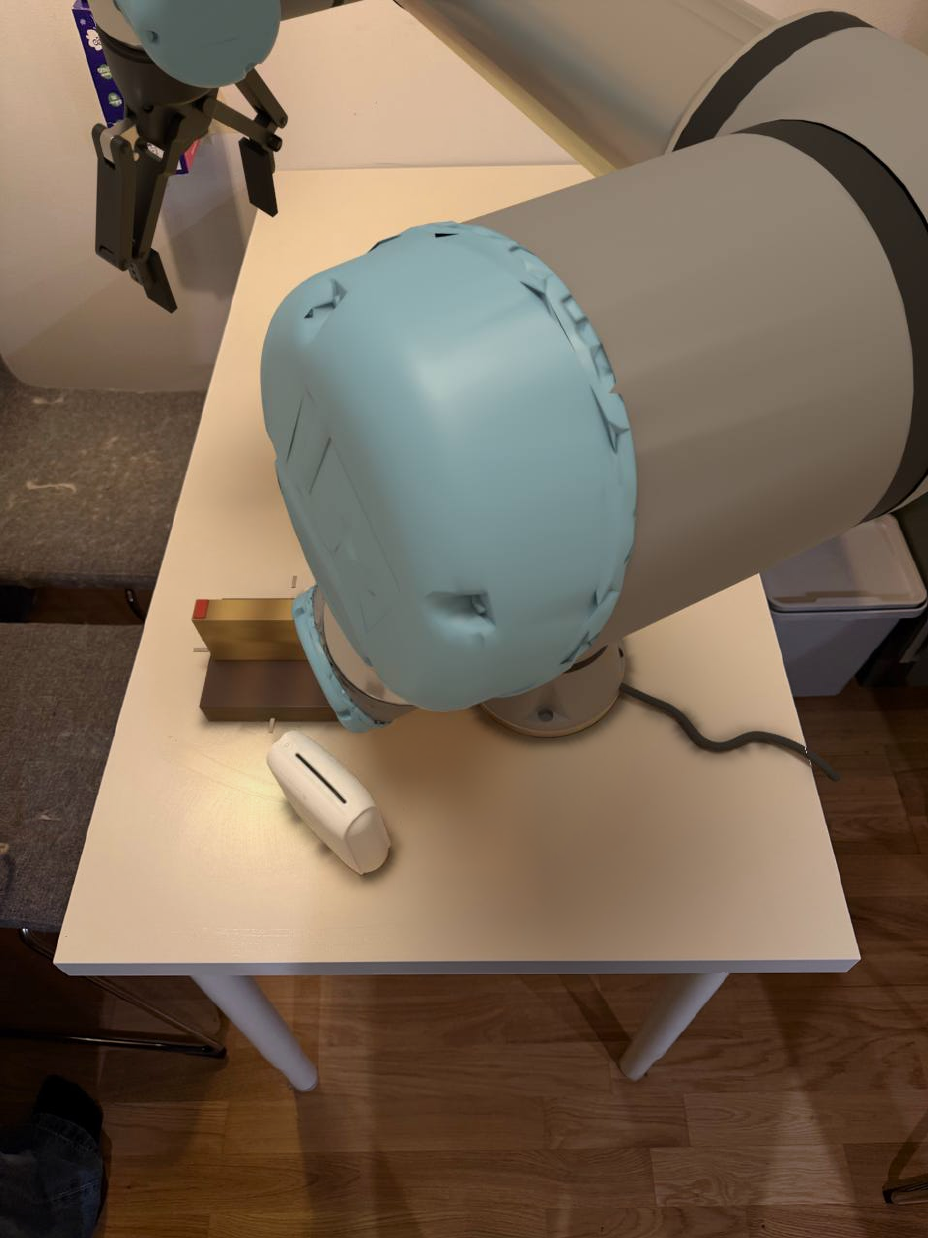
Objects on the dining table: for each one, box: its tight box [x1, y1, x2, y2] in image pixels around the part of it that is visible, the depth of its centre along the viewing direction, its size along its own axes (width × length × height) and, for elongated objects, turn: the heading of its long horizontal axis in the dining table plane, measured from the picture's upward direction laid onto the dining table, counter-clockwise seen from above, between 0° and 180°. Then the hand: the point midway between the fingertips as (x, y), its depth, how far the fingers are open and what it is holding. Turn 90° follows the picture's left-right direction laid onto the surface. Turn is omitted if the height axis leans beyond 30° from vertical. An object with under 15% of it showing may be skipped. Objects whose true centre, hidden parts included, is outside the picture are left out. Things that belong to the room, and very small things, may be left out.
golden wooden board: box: [191, 598, 308, 660], centre depth 76 cm, size 13×2×7 cm, turn 89°
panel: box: [192, 575, 340, 734], centre depth 81 cm, size 17×17×3 cm
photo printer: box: [266, 730, 392, 876], centre depth 68 cm, size 10×4×12 cm, turn 46°
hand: (214, 254), depth 75 cm, fingers open, 13 cm apart
